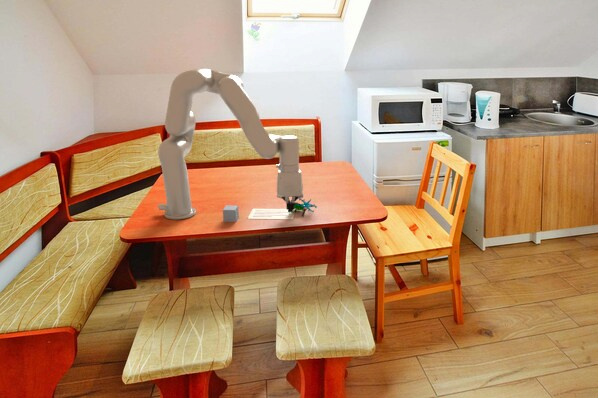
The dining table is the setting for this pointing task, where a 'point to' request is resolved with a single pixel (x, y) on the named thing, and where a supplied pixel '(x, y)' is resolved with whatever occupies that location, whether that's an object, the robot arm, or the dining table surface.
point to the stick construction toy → (302, 207)
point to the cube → (230, 213)
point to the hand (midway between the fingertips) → (290, 211)
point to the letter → (271, 214)
